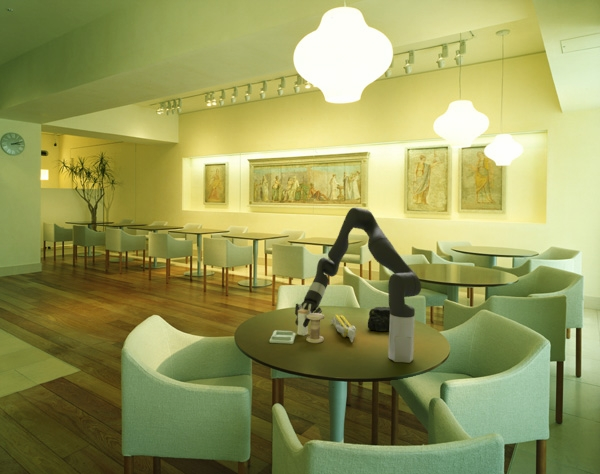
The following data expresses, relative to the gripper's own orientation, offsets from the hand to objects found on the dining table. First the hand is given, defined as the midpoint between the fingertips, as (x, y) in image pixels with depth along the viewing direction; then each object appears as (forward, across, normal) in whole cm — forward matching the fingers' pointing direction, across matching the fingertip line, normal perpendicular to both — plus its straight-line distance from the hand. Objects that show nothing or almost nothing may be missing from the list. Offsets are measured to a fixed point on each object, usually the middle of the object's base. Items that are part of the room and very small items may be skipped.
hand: (300, 325), depth 188 cm
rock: (-20, +28, +27) cm, 44 cm away
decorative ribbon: (-7, +14, +14) cm, 21 cm away
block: (+2, 0, +5) cm, 5 cm away
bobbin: (+5, +9, +2) cm, 10 cm away
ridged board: (+9, -3, -3) cm, 10 cm away
